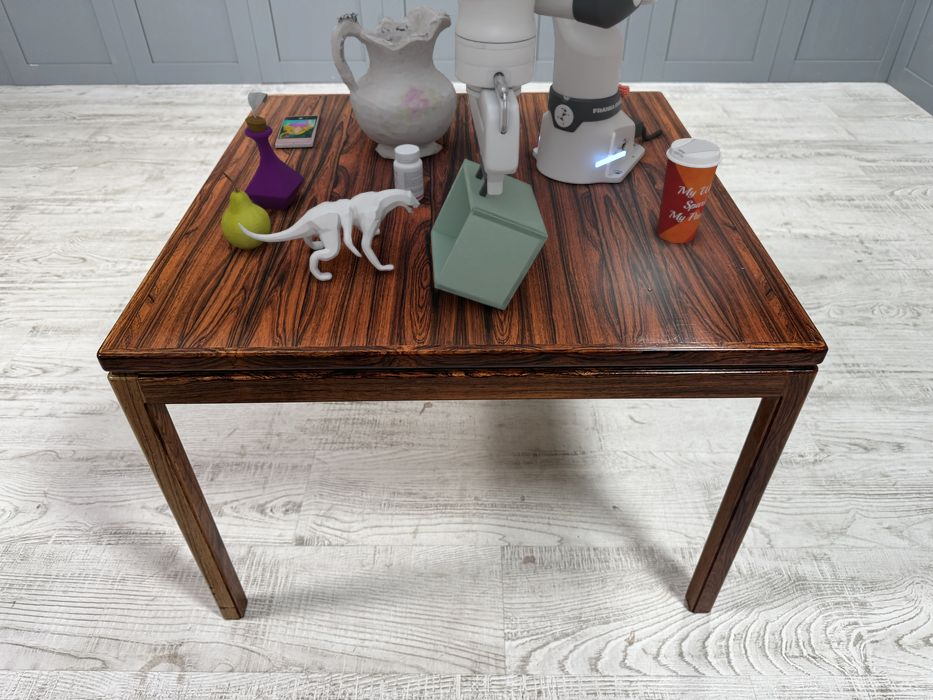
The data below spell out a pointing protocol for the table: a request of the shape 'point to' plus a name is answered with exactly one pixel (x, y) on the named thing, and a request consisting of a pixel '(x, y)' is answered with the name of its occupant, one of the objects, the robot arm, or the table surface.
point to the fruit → (244, 220)
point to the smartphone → (297, 131)
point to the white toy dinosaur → (343, 225)
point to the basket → (485, 237)
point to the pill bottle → (409, 170)
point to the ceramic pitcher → (399, 81)
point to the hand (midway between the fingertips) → (490, 177)
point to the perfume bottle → (269, 165)
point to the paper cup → (686, 187)
